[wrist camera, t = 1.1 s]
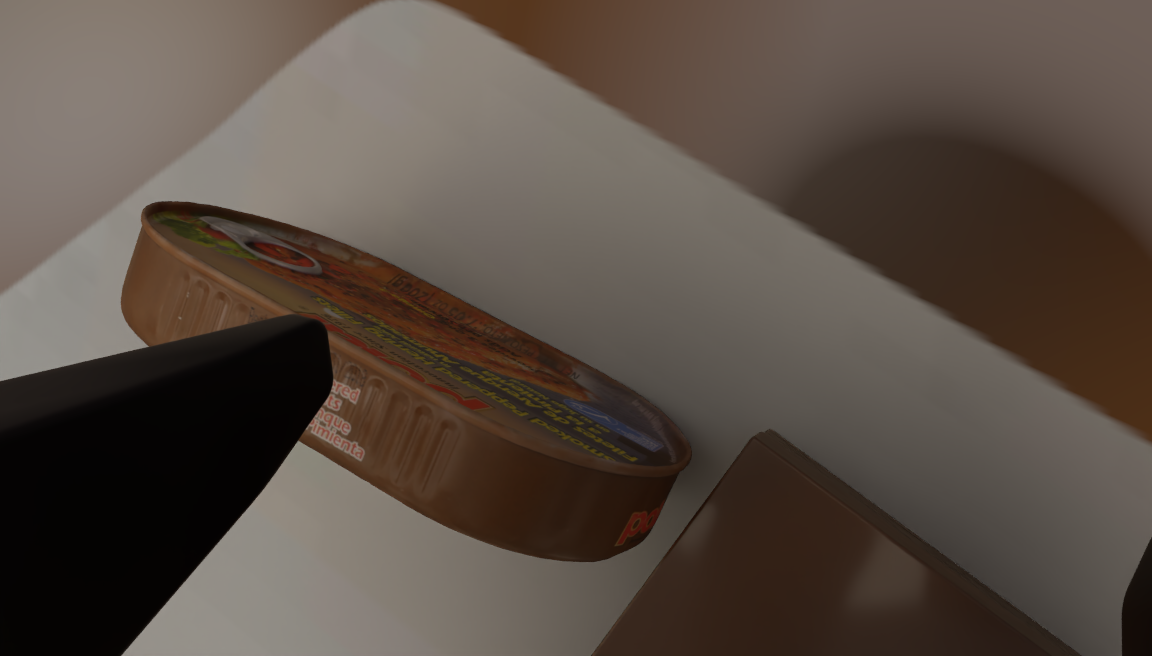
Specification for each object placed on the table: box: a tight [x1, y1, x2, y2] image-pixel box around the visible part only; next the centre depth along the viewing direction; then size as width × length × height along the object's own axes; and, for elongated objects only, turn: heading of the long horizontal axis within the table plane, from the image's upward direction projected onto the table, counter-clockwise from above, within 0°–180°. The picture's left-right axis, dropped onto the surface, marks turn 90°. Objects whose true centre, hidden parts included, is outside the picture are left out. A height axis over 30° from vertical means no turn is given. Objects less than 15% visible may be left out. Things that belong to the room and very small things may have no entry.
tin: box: [121, 201, 692, 562], centre depth 22 cm, size 15×3×8 cm, turn 63°
